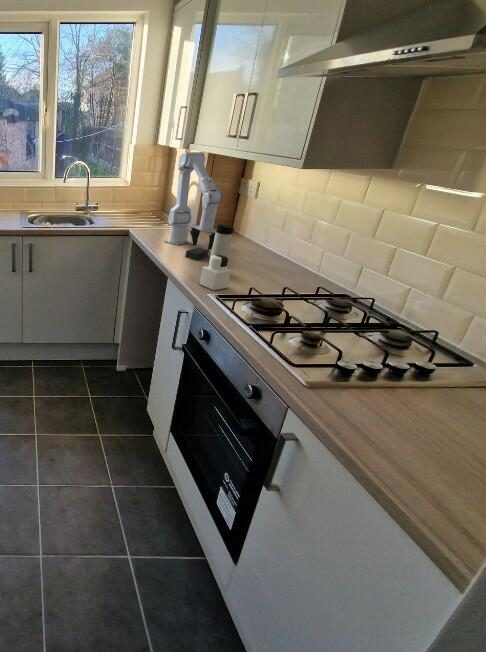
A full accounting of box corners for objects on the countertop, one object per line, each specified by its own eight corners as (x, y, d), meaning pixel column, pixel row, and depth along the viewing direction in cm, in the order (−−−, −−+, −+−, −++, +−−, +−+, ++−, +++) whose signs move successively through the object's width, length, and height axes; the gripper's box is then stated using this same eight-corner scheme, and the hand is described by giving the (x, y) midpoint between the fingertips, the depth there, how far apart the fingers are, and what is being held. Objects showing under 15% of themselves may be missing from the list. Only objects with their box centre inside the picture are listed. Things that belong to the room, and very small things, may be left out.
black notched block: (192, 254, 194) (193, 248, 193) (203, 258, 190) (205, 251, 188) (185, 256, 191) (186, 250, 190) (197, 260, 187) (198, 253, 185)
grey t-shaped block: (198, 253, 196) (199, 247, 195) (207, 256, 192) (209, 249, 191) (190, 255, 193) (191, 249, 191) (200, 258, 189) (201, 252, 188)
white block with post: (213, 281, 162) (219, 252, 157) (227, 288, 156) (234, 257, 151) (199, 284, 160) (205, 254, 155) (213, 290, 154) (219, 260, 149)
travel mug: (203, 270, 174) (213, 223, 166) (214, 268, 177) (225, 222, 168) (215, 275, 169) (226, 227, 161) (227, 273, 172) (238, 225, 163)
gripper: (188, 216, 189) (183, 245, 195) (218, 222, 178) (212, 252, 184) (196, 214, 193) (191, 242, 198) (227, 220, 182) (220, 250, 188)
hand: (202, 247), depth 192 cm, fingers open, 7 cm apart
